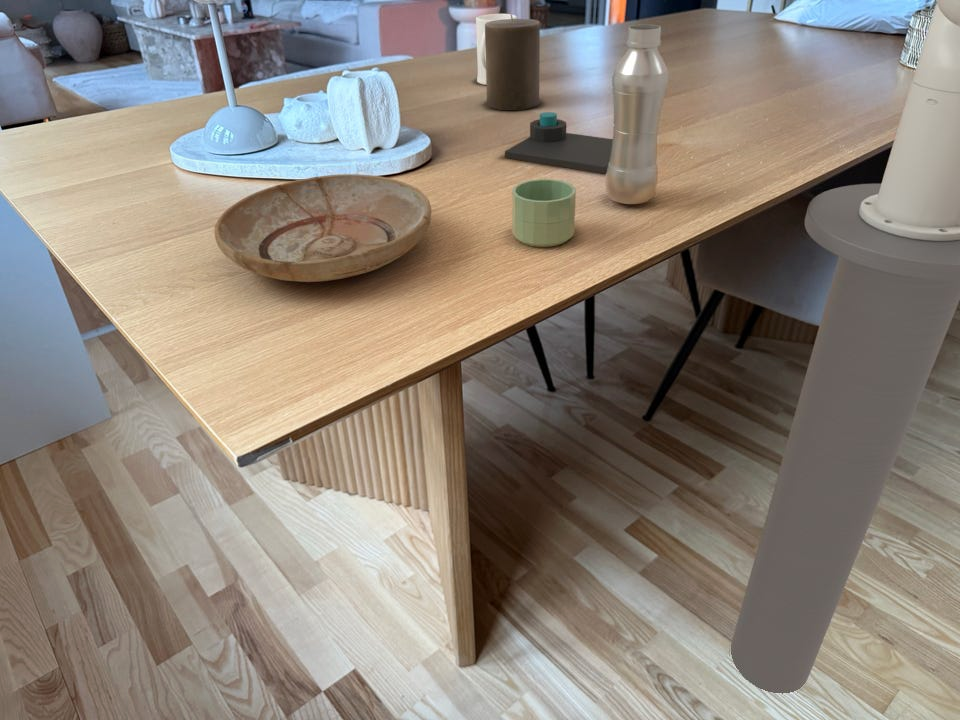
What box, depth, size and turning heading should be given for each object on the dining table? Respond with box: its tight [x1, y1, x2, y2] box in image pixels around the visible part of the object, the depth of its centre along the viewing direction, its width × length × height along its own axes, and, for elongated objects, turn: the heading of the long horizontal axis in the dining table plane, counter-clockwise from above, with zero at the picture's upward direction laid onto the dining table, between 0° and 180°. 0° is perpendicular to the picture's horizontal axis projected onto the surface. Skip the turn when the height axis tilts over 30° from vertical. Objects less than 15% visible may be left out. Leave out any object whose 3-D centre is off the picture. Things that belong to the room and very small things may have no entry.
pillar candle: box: [485, 14, 541, 111], centre depth 124 cm, size 10×10×15 cm
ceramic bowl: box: [213, 173, 432, 283], centre depth 77 cm, size 23×24×5 cm
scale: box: [504, 118, 613, 175], centre depth 103 cm, size 16×12×3 cm
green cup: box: [511, 178, 577, 248], centre depth 79 cm, size 7×7×6 cm
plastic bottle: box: [604, 23, 669, 205], centre depth 83 cm, size 6×7×20 cm
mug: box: [475, 13, 518, 86], centre depth 140 cm, size 12×8×12 cm
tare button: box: [539, 111, 558, 127], centre depth 107 cm, size 3×3×2 cm
